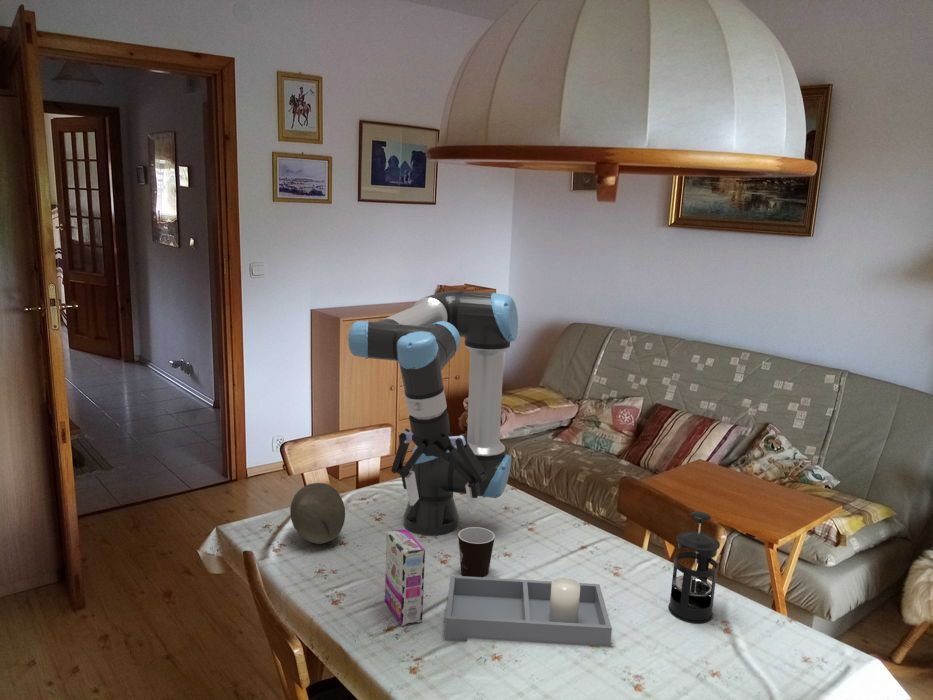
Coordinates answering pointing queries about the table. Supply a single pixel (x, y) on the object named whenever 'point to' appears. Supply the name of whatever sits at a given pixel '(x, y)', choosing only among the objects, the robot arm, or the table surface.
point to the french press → (694, 575)
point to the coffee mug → (475, 551)
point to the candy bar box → (404, 576)
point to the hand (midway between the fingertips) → (443, 506)
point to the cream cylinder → (564, 600)
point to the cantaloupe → (317, 513)
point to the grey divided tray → (521, 612)
